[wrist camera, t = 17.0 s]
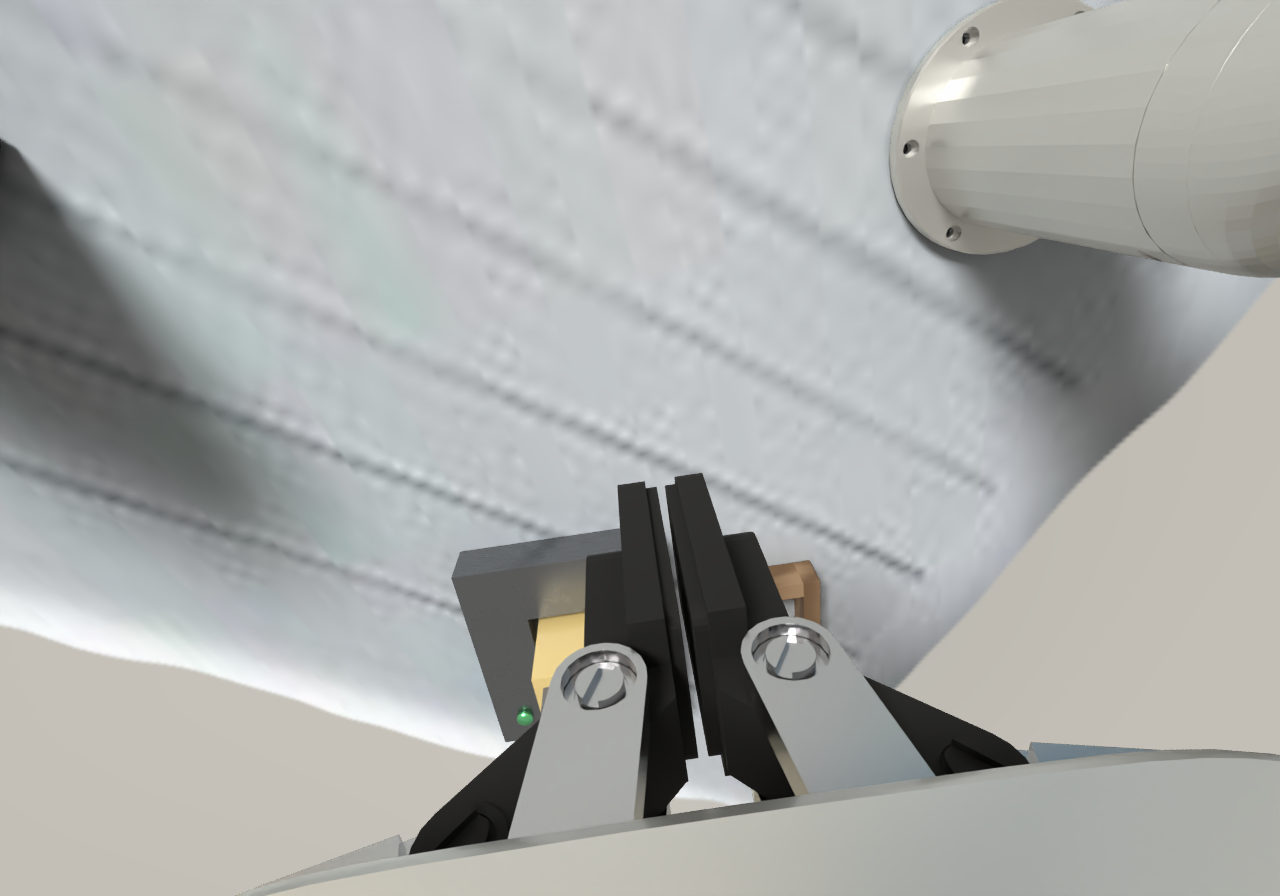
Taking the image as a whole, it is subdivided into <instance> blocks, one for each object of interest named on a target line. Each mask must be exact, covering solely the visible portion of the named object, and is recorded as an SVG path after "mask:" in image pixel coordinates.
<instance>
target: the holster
mask: <svg viewBox="0 0 1280 896" xmlns="http://www.w3.org/2000/svg"><path fill="white" fill-rule="evenodd" d="M768 567H769V570H770V572H771V574H772V577H773V579H774V582H775V584H776V586H777V589H778V591H779V594H780V596H781V599H782V600H786V599H793V598H794V601H795V617H798V618H803V619H806V620H810V621H813V622H815V623H817V624H819V625H820V580H819V578H818V576H817V574H816V572H815V570H814V568H813V567H812V565H811V563H810V561H809V560H808V561H802V562H795V563H788V564H781V565H774V566H768Z"/></svg>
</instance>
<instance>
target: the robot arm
mask: <svg viewBox="0 0 1280 896" xmlns="http://www.w3.org/2000/svg"><path fill="white" fill-rule="evenodd" d="M963 35H964V36H965V43H964V44H963V42H962V36H963ZM905 144H906V145H907V146H908V150H907V152H906V153H905V154H904V153H903V148H904V145H905ZM889 159H890V170H891V180H892V184H893V187H894V190H895V194H896V197H897V200H898V202H899V204H900V206H901V208H902V210H903V212H904V214H905V216H906V217H907V219H908V220H909V221H910V222H911V223H912V224H913V226H914V227H915V228H916V229H917V230H918V231H919V232H920V233H921V234H923V235H924V236H925V237H927V238H928V239H929V240H931V241H932V242H934V243H936V244H938V245H941V246H943V247H946V248H948V249H950V250H954V251H959V252H963V253H966V254H981V255H989V254H996V253H1003V252H1008V251H1011V250H1014V249H1017V248H1020V247H1023V246H1026V245H1029V244H1031V243H1032V242H1034V241H1036V240H1038V239H1040V238H1044V239H1049V240H1054V241H1059V242H1064V243H1069V244H1074V245H1080V246H1085V247H1090V248H1095V249H1100V250H1105V251H1110V252H1115V253H1121V254H1126V255H1131V256H1136V257H1141V258H1146V259H1151V260H1157V261H1162V262H1167V263H1172V264H1177V265H1182V266H1187V267H1193V268H1198V269H1203V270H1208V271H1214V272H1220V273H1225V274H1230V275H1237V276H1247V277H1259V278H1280V0H1125V1H1122V2H1118V3H1115V4H1111V5H1108V6H1104V7H1101V8H1097V9H1093V8H1092V7H1091V6H1089V5H1087V4H1085V3H1083V2H1081V1H1079V0H1000V1H998V2H995V3H993V4H990V5H988V6H985V7H983V8H981V9H979V10H978V11H976V12H975V13H973V14H971V15H970V16H968V17H966V18H965V19H963V20H961V21H960V22H959V23H958V24H956V25H955V26H954V27H953V28H952V29H951V30H949V31H948V32H947V33H946V34H945V35H944V36H943V37H941V38H940V39H939V40H938V42H937V43H936V44H935V45H934V46H933V48H932V49H931V50H930V51H929V52H928V53H927V55H926V56H925V57H924V58H923V59H922V61H921V62H920V64H919V66H918V67H917V69H916V71H915V72H914V74H913V76H912V77H911V79H910V81H909V82H908V84H907V86H906V89H905V91H904V94H903V96H902V98H901V101H900V103H899V106H898V108H897V112H896V116H895V120H894V124H893V128H892V132H891V142H890V155H889ZM948 229H949V230H950V231H949V234H948V235H947V236H946V233H947V230H948ZM665 490H666V498H667V505H668V513H669V521H670V528H671V536H672V544H673V551H674V559H675V566H676V574H677V582H678V589H679V597H680V603H681V610H682V615H683V621H684V626H685V631H686V637H687V642H688V648H689V653H690V658H691V664H692V669H693V675H694V680H695V686H696V691H697V696H698V702H699V707H700V713H701V718H702V724H703V729H704V734H705V740H706V745H707V751H708V755H709V756H715V755H721V758H722V763H723V767H724V772H725V776H730V775H731V776H733V777H734V778H736V779H737V780H739V781H740V782H742V783H743V784H745V785H747V786H748V787H750V788H751V789H752V795H753V800H754V802H753V803H746V804H739V805H732V806H725V807H719V808H712V809H705V810H698V811H691V812H684V813H678V814H671V810H670V801H671V800H672V799H673V798H674V797H675V795H676V794H677V793H678V792H679V790H680V789H681V788H682V787H683V786H684V784H685V783H686V782H688V775H687V768H686V761H685V760H688V759H695V758H698V751H697V744H696V736H695V729H694V721H693V714H692V706H691V699H690V691H689V684H688V676H687V669H686V661H685V654H684V646H683V639H682V632H681V625H680V618H679V612H678V606H677V600H676V594H675V589H674V583H673V577H672V572H671V566H670V560H669V555H668V549H667V543H666V538H665V532H664V527H663V521H662V515H661V510H660V504H659V498H658V493H657V487H652V488H646V487H645V481H644V482H637V483H630V484H623V485H618V501H619V517H620V534H621V550H622V551H615V552H608V553H602V554H595V555H588V556H587V557H586V583H585V621H584V648H582V649H579V650H577V651H575V652H574V653H572V654H571V655H569V656H568V657H567V658H565V659H564V660H563V662H562V663H561V664H560V665H559V666H558V667H557V668H556V670H555V672H554V675H553V677H552V679H551V682H550V685H549V689H548V693H547V696H546V700H545V704H544V707H543V711H542V715H541V718H540V720H538V721H537V722H536V723H535V724H534V725H533V726H532V727H531V728H530V729H528V730H527V731H526V732H525V733H524V734H523V735H522V736H521V737H520V738H519V739H517V740H516V741H515V742H514V743H513V744H512V745H511V746H510V747H509V748H507V749H506V750H505V751H504V752H503V753H502V754H501V755H500V756H499V757H498V758H496V759H495V760H494V761H493V762H492V763H491V764H490V765H489V766H488V767H486V768H485V769H484V770H483V771H482V772H481V773H480V774H479V775H478V776H477V777H475V778H474V779H473V780H472V781H471V782H470V783H469V784H468V785H467V786H465V787H464V788H463V789H462V790H461V791H460V792H459V793H458V794H457V795H455V796H454V797H453V798H452V799H451V800H450V801H449V802H448V803H447V804H446V805H444V806H443V807H442V808H441V809H440V810H439V811H438V812H437V813H436V814H434V816H433V817H432V818H431V819H430V820H429V821H428V822H427V823H426V825H425V826H424V827H423V828H422V829H421V830H420V832H419V834H418V836H417V837H416V838H413V839H410V840H407V841H405V842H402V840H401V837H400V835H396V836H394V837H391V838H388V839H386V840H383V841H380V842H377V843H375V844H372V845H369V846H367V847H364V848H361V849H358V850H356V851H353V852H350V853H348V854H345V855H342V856H339V857H337V858H334V859H331V860H329V861H326V862H323V863H320V864H318V865H315V866H312V867H310V868H307V869H305V870H301V871H299V872H296V873H293V874H291V875H288V876H285V877H283V878H280V879H277V880H275V881H272V882H269V883H266V884H263V885H261V886H258V887H256V888H254V889H252V890H249V891H246V892H243V893H241V894H238V895H236V896H1280V755H1276V754H1268V753H1255V752H1242V751H1229V750H1216V749H1212V750H1211V749H1202V750H1152V749H1136V748H1119V747H1118V748H1117V747H1101V746H1085V745H1069V744H1052V743H1035V742H1031V743H1030V748H1029V751H1025V750H1017V749H1015V748H1014V747H1013V746H1012V745H1011V744H1009V743H1008V742H1006V741H1004V740H1002V739H1001V738H999V737H997V736H996V735H994V734H992V733H990V732H988V731H985V730H983V729H981V728H979V727H977V726H974V725H972V724H970V723H968V722H965V721H963V720H961V719H959V718H956V717H954V716H952V715H950V714H948V713H945V712H943V711H941V710H939V709H936V708H934V707H932V706H930V705H928V704H925V703H923V702H921V701H918V700H916V699H914V698H912V697H910V696H907V695H905V694H903V693H901V692H899V691H896V690H894V689H892V688H890V687H887V686H885V685H883V684H881V683H878V682H876V681H874V680H872V679H870V678H867V677H865V676H863V675H862V674H861V672H860V671H859V669H858V668H857V667H856V665H855V664H854V663H853V661H852V660H851V658H850V657H849V656H848V654H847V653H846V651H845V650H844V649H843V647H842V646H841V645H840V643H839V642H838V640H837V639H836V638H835V637H834V636H833V635H832V634H831V633H830V632H829V631H828V630H827V629H826V628H824V627H822V626H821V625H819V624H817V623H815V622H813V621H810V620H806V619H803V618H798V617H789V616H788V613H787V611H786V608H785V606H784V603H783V601H782V599H781V596H780V594H779V591H778V589H777V586H776V584H775V582H774V579H773V577H772V574H771V572H770V570H769V567H768V565H767V562H766V560H765V557H764V555H763V553H762V550H761V548H760V545H759V543H758V540H757V538H756V536H755V534H754V533H753V532H745V533H738V534H731V535H725V536H723V535H722V532H721V529H720V526H719V523H718V520H717V516H716V513H715V510H714V507H713V504H712V501H711V498H710V495H709V492H708V489H707V486H706V483H705V480H704V477H703V474H702V473H698V474H691V475H685V476H678V477H675V484H673V485H666V486H665Z"/></svg>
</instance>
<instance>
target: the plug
mask: <svg viewBox="0 0 1280 896" xmlns="http://www.w3.org/2000/svg"><path fill="white" fill-rule="evenodd" d="M584 621H585V611H584V612H577V613H570V614H563V615H556V616H550V617H543V618H539V623H538V631H537V639H536V647H535V655H534V663H533V671H532V679H531V681H532V684H533V688H534V691H535V694H536V698H537V701H538V705H539V708H540V712H541V715H542V711H543V707H544V704H545V700H546V696H547V693H548V689H549V685H550V682H551V679H552V677H553V675H554V672H555V670H556V668H557V667H558V666H559V665H560V664H561V663H562V662H563V660H564V659H565V658H567V657H568V656H569V655H571V654H572V653H574V652H575V651H577V650H579V649H582V648H584Z"/></svg>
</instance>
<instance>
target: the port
mask: <svg viewBox="0 0 1280 896" xmlns="http://www.w3.org/2000/svg"><path fill="white" fill-rule="evenodd" d="M615 551H622V550H621V534H620V529H613V530H607V531H600V532H593V533H586V534H579V535H572V536H566V537H559V538H552V539H545V540H538V541H531V542H525V543H518V544H511V545H504V546H497V547H490V548H484V549H477V550H470V551H463V552H460V555H459V557H458V560H457V563H456V566H455V569H454V572H453V575H452V581H453V584H454V587H455V590H456V593H457V596H458V599H459V602H460V605H461V608H462V612H463V615H464V618H465V621H466V624H467V627H468V630H469V633H470V636H471V639H472V642H473V645H474V648H475V651H476V654H477V657H478V660H479V663H480V666H481V669H482V672H483V675H484V678H485V681H486V684H487V687H488V691H489V694H490V697H491V700H492V703H493V706H494V709H495V712H496V715H497V718H498V721H499V724H500V727H501V730H502V733H503V736H504V739H505V742H510V741H516V740H517V739H519V738H520V737H521V736H522V735H523V734H524V733H525V732H526V731H527V730H528V729H530V728H531V727H532V726H533V725H534V724H535V723H536V722H537V721H538V720H540V718H541V712H540V708H539V705H538V701H537V698H536V694H535V691H534V688H533V684H532V681H531V679H532V671H533V663H534V655H535V647H536V639H537V631H538V623H539V618H543V617H550V616H556V615H563V614H570V613H577V612H584V611H585V583H586V557H587V556H588V555H595V554H602V553H608V552H615Z"/></svg>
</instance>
